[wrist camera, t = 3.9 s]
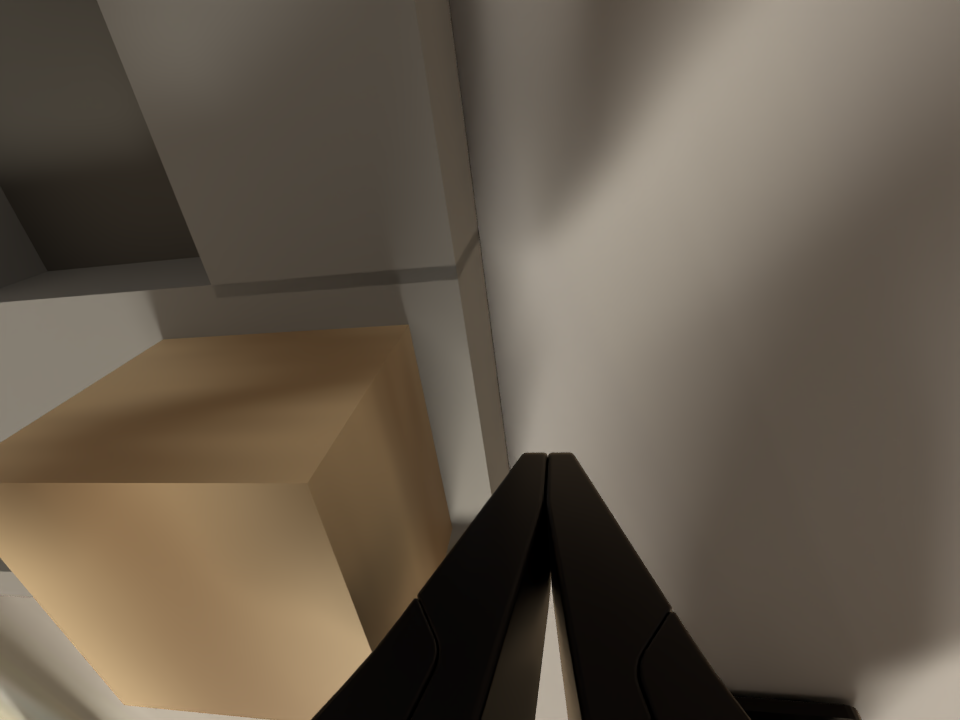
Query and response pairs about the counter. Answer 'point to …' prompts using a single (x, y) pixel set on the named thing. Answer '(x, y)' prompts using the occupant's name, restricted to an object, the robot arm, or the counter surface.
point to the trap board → (241, 199)
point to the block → (231, 516)
